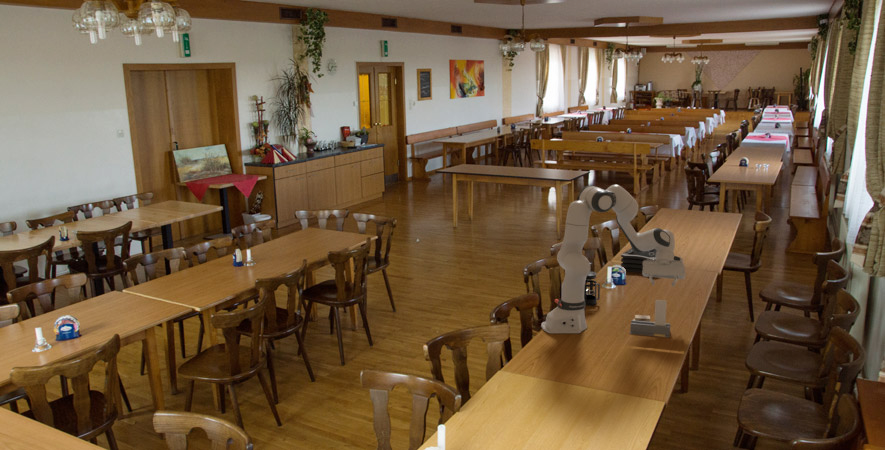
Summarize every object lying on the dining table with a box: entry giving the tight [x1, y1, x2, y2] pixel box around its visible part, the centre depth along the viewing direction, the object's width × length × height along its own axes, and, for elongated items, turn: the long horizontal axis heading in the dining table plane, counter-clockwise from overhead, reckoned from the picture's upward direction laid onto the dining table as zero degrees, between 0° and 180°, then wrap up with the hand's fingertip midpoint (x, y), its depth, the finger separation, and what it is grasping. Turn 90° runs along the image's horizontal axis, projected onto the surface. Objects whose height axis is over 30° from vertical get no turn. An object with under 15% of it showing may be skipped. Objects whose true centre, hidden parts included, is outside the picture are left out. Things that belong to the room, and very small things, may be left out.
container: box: [620, 247, 657, 274], centre depth 430 cm, size 22×35×13 cm, turn 144°
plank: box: [654, 299, 668, 326], centre depth 318 cm, size 5×2×16 cm, turn 70°
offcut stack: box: [632, 314, 651, 322], centre depth 327 cm, size 8×5×5 cm, turn 70°
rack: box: [629, 319, 671, 338], centre depth 322 cm, size 18×14×5 cm
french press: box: [584, 261, 601, 307], centre depth 364 cm, size 12×9×23 cm
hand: (662, 284), depth 326 cm, fingers open, 8 cm apart
